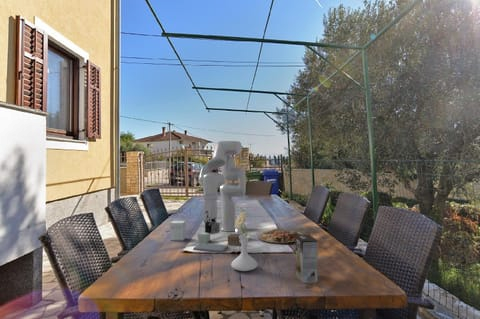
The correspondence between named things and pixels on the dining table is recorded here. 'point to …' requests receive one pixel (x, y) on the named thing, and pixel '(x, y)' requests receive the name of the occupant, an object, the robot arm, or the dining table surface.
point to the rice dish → (279, 236)
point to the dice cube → (214, 227)
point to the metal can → (239, 231)
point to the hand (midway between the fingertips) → (210, 230)
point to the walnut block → (233, 239)
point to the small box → (177, 230)
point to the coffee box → (306, 258)
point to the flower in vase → (243, 248)
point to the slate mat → (210, 247)
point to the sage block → (203, 237)
